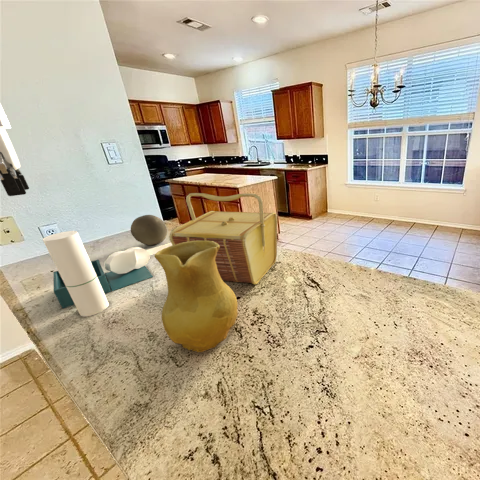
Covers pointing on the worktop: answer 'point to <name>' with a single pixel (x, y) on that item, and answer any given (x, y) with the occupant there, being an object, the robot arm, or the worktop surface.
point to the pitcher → (196, 296)
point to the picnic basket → (234, 238)
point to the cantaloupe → (149, 230)
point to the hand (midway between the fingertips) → (19, 192)
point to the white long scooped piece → (130, 259)
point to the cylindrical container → (76, 272)
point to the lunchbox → (101, 281)
